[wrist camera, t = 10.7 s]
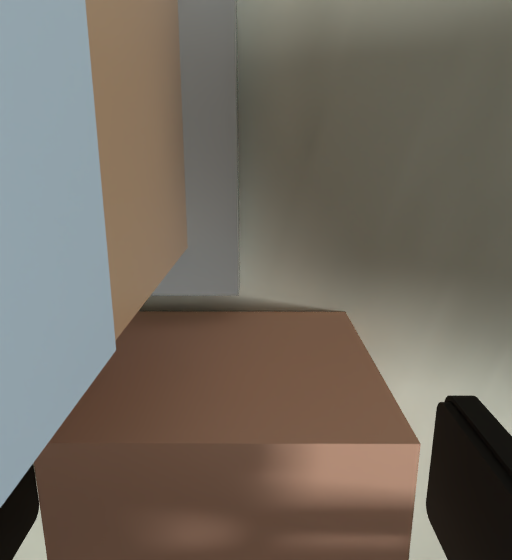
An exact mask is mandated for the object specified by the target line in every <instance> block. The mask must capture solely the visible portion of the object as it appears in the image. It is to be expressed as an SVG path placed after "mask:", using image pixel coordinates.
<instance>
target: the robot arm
mask: <svg viewBox="0 0 512 560" xmlns="http://www.w3.org/2000/svg"><path fill="white" fill-rule="evenodd" d="M426 509H427V514H428V518H429V521H430V523H431V525H432V527H433V529H434V531H435V533H436V536H437V538H438V540H439V542H440V544H441V546H442V548H443V550H444V553H445V555H446V557H447V559H448V560H512V436H511V435H510V434H509V433H508V432H507V431H506V429H505V428H504V427H503V426H502V425H501V424H500V423H499V422H498V420H497V419H496V418H495V417H494V416H493V415H492V414H491V413H490V412H489V410H488V409H487V408H486V407H485V406H484V405H483V404H482V403H481V401H480V400H479V399H478V398H477V397H475V396H447V397H446V399H445V402H440V403H439V404H438V406H437V411H436V420H435V429H434V437H433V446H432V455H431V463H430V472H429V481H428V489H427V498H426ZM38 510H39V499H38V492H37V486H36V479H35V473H34V466H33V464H32V465H31V467H30V468H29V470H28V471H27V472H26V474H25V475H24V476H23V478H22V479H21V480H20V482H19V483H18V485H17V486H16V487H15V489H14V490H13V491H12V493H11V494H10V495H9V497H8V498H7V500H6V501H5V502H4V504H3V505H2V506H1V508H0V560H12V559H13V557H14V556H15V554H16V552H17V551H18V549H19V547H20V546H21V544H22V542H23V540H24V539H25V537H26V535H27V534H28V532H29V530H30V529H31V527H32V525H33V524H34V522H35V520H36V518H37V515H38Z"/></svg>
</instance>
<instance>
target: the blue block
mask: <svg viewBox="0 0 512 560" xmlns="http://www.w3.org/2000/svg"><path fill="white" fill-rule="evenodd" d="M115 351H116V343H115V331H114V320H113V309H112V298H111V286H110V275H109V264H108V252H107V241H106V230H105V218H104V207H103V196H102V185H101V173H100V162H99V151H98V139H97V128H96V117H95V105H94V94H93V83H92V72H91V60H90V49H89V38H88V26H87V15H86V4H85V0H0V508H1V506H2V505H3V504H4V502H5V501H6V500H7V498H8V497H9V495H10V494H11V493H12V491H13V490H14V489H15V487H16V486H17V485H18V483H19V482H20V480H21V479H22V478H23V476H24V475H25V474H26V472H27V471H28V470H29V468H30V467H31V465H32V464H33V463H34V461H35V460H36V459H37V457H38V456H39V455H40V453H41V452H42V450H43V449H44V448H45V446H46V445H47V444H48V442H49V441H50V440H51V438H52V437H53V435H54V434H55V433H56V431H57V430H58V429H59V427H60V426H61V425H62V423H63V422H64V421H65V419H66V418H67V416H68V415H69V414H70V412H71V411H72V410H73V408H74V407H75V406H76V404H77V403H78V401H79V400H80V399H81V397H82V396H83V395H84V393H85V392H86V391H87V389H88V388H89V386H90V385H91V384H92V382H93V381H94V380H95V378H96V377H97V376H98V374H99V373H100V371H101V370H102V369H103V367H104V366H105V365H106V363H107V362H108V361H109V359H110V358H111V356H112V355H113V354H114V352H115Z"/></svg>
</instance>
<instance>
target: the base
mask: <svg viewBox="0 0 512 560" xmlns="http://www.w3.org/2000/svg"><path fill="white" fill-rule="evenodd" d="M85 4H86V15H87V26H88V38H89V49H90V60H91V72H92V83H93V94H94V105H95V117H96V128H97V139H98V151H99V162H100V173H101V185H102V196H103V207H104V218H105V230H106V241H107V252H108V264H109V275H110V286H111V298H112V309H113V320H114V331H115V341H116V339H117V338H118V337H119V335H120V334H121V333H122V332H123V330H124V329H125V328H126V326H127V325H128V324H129V322H130V321H131V320H132V319H133V317H134V316H135V315H136V313H137V312H138V311H139V310H140V308H141V307H142V306H143V304H144V303H145V302H146V301H147V299H148V298H149V297H150V296H238V295H239V288H240V275H239V188H238V102H237V16H236V0H85Z"/></svg>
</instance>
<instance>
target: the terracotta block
mask: <svg viewBox="0 0 512 560" xmlns="http://www.w3.org/2000/svg"><path fill="white" fill-rule="evenodd" d="M115 343H116V351H115V352H114V354H113V355H112V356H111V358H110V359H109V361H108V362H107V363H106V365H105V366H104V367H103V369H102V370H101V371H100V373H99V374H98V376H97V377H96V378H95V380H94V381H93V382H92V384H91V385H90V386H89V388H88V389H87V391H86V392H85V393H84V395H83V396H82V397H81V399H80V400H79V401H78V403H77V404H76V406H75V407H74V408H73V410H72V411H71V412H70V414H69V415H68V416H67V418H66V419H65V421H64V422H63V423H62V425H61V426H60V427H59V429H58V430H57V431H56V433H55V434H54V435H53V437H52V438H51V440H50V441H49V442H48V444H47V445H46V446H45V448H44V449H43V450H42V452H41V453H40V455H39V456H38V457H37V459H36V460H35V461H34V466H35V474H36V481H37V488H38V495H39V502H40V510H41V517H42V524H43V531H44V538H45V546H46V553H47V560H408V559H409V549H410V540H411V530H412V520H413V511H414V501H415V491H416V482H417V472H418V462H419V453H420V442H419V441H418V439H417V437H416V435H415V434H414V432H413V430H412V428H411V427H410V425H409V423H408V421H407V420H406V418H405V416H404V414H403V413H402V411H401V409H400V407H399V405H398V404H397V402H396V400H395V398H394V397H393V395H392V393H391V391H390V390H389V388H388V386H387V384H386V383H385V381H384V379H383V377H382V376H381V374H380V372H379V370H378V369H377V367H376V365H375V363H374V362H373V360H372V358H371V356H370V354H369V353H368V351H367V349H366V347H365V346H364V344H363V342H362V340H361V339H360V337H359V335H358V333H357V332H356V330H355V328H354V326H353V325H352V323H351V321H350V319H349V318H348V316H347V314H346V312H235V311H138V312H137V313H136V315H135V316H134V317H133V319H132V320H131V321H130V322H129V324H128V325H127V326H126V328H125V329H124V330H123V332H122V333H121V334H120V335H119V337H118V338H117V339H116V341H115Z"/></svg>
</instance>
